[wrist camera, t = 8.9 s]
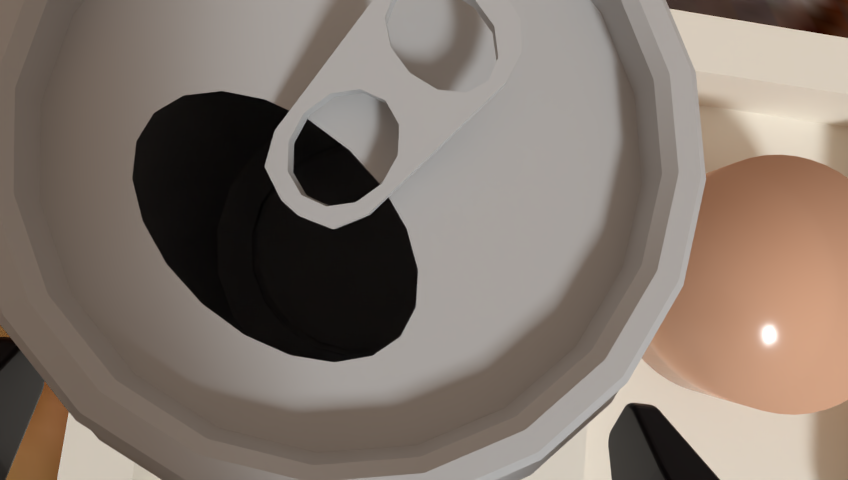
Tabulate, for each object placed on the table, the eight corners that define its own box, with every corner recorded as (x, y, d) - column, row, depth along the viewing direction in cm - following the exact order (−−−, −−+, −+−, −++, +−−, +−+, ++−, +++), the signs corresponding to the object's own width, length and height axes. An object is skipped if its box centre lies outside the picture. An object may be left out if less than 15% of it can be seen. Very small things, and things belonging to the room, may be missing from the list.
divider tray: (881, 539, 18) (973, 582, 15) (104, 473, 16) (51, 509, 13) (894, 93, 19) (980, 60, 17) (186, -19, 17) (153, -77, 15)
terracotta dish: (777, 427, 17) (863, 454, 14) (580, 344, 17) (626, 354, 14) (841, 228, 18) (935, 215, 15) (655, 144, 18) (713, 114, 15)
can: (165, 256, 16) (-407, 138, 4) (354, 65, 17) (329, -468, 5) (369, 441, 16) (383, 850, 4) (545, 240, 17) (955, 111, 5)
